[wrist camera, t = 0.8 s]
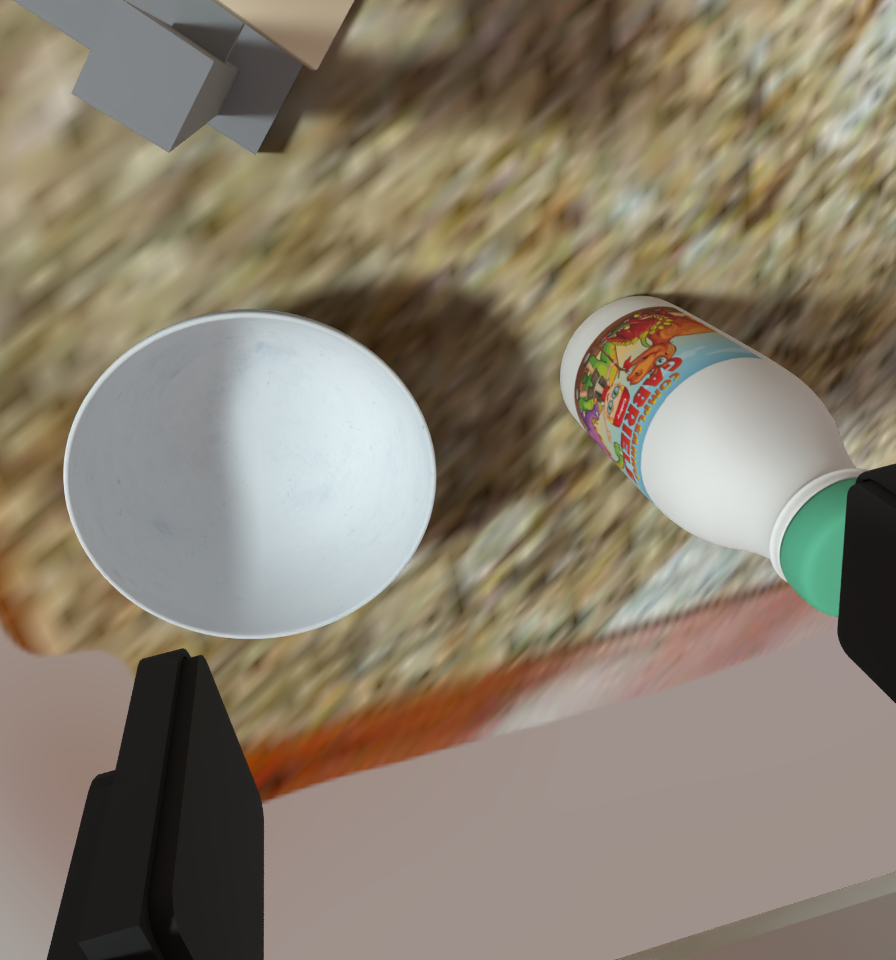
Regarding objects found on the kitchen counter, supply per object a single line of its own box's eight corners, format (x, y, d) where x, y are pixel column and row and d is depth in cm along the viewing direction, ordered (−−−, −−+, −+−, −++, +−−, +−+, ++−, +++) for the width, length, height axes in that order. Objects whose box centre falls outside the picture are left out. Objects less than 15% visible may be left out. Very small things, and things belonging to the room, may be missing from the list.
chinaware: (456, 340, 41) (495, 393, 34) (343, 583, 46) (357, 671, 39) (153, 215, 36) (126, 248, 29) (61, 504, 40) (20, 590, 34)
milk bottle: (702, 288, 42) (1015, 439, 25) (684, 426, 46) (948, 646, 28) (559, 296, 41) (782, 462, 23) (551, 438, 44) (741, 676, 27)
